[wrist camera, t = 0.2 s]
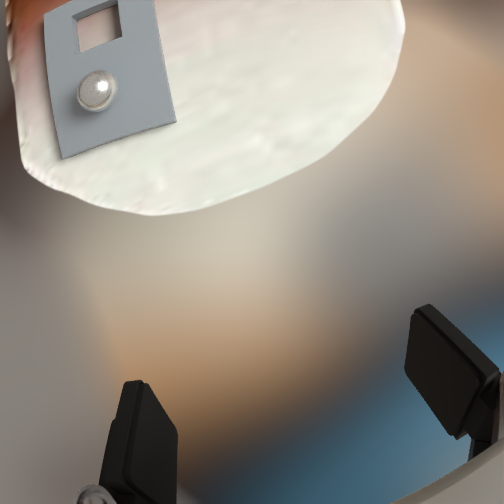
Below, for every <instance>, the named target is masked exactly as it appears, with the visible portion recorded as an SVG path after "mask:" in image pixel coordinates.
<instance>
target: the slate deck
mask: <svg viewBox="0 0 504 504" xmlns="http://www.w3.org/2000/svg"><path fill="white" fill-rule="evenodd" d="M117 4H118V8H119V16H120V24H121V31H122V37H120V38H117V39H114V40H112V41H109V42H106V43H104V44H101V45H99V46H96V47H94V48H91V49H89V50H86V51H84V52H82V53H80V49H79V40H78V29H77V20H79V19H81V18H84V17H86V16H88V15H91V14H93V13H95V12H98V11H100V10H103V9H106V8H108V7H111V6H114V5H117ZM44 36H45V52H46V64H47V73H48V82H49V89H50V96H51V103H52V109H53V115H54V121H55V126H56V131H57V136H58V141H59V145H60V150H61V154H62V159H64V158H69V157H72V156H74V155H77V154H79V153H82V152H84V151H87V150H89V149H92V148H95V147H98V146H100V145H103V144H106V143H109V142H112V141H115V140H118V139H121V138H124V137H127V136H130V135H133V134H136V133H139V132H143V131H146V130H149V129H153V128H156V127H160V126H163V125H167V124H171V123H174V122H177V121H176V116H175V112H174V107H173V102H172V97H171V92H170V88H169V83H168V78H167V72H166V67H165V62H164V57H163V51H162V46H161V41H160V35H159V29H158V23H157V18H156V12H155V5H154V0H72V1H70V2H68V3H66V4H64V5H62V6H60V7H58V8H56V9H54V10H52V11H50V12H48V13H46V14H44ZM98 69H104V70H108V71H110V72H112V73H113V74H114V75H115V76H116V77H117V79H118V81H119V94H118V97H117V99H116V100H115V102H114V103H113V104H112V105H111V106H110V107H109V108H107V109H105V110H103V111H99V112H91V111H88V110H86V109H84V108H83V107H82V106H81V105H80V104H79V102H78V99H77V88H78V85H79V83H80V81H81V80H82V78H83V77H84V76H85V75H86V74H88V73H89V72H91V71H94V70H98Z"/></svg>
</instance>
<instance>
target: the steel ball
mask: <svg viewBox="0 0 504 504" xmlns="http://www.w3.org/2000/svg"><path fill="white" fill-rule="evenodd" d="M118 94H119V81H118V79H117V77H116V76H115V75H114V74H113V73H112V72H110V71H108V70H104V69H98V70H94V71H91V72H89V73H88V74H86V75H85V76H84V77H83V78H82V80H81V81H80V83H79V85H78V88H77V99H78V102H79V104H80V105H81V106H82V107H83V108H84V109H86V110H88V111H91V112H99V111H103V110H105V109H107V108H109V107H110V106H111V105H112V104H113V103H114V102H115V100H116V99H117V97H118Z"/></svg>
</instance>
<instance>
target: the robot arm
mask: <svg viewBox="0 0 504 504" xmlns="http://www.w3.org/2000/svg"><path fill="white" fill-rule="evenodd" d="M404 369H405V373H406V375H407V376H408V378H409V379H410V381H411V382H412V383H413V385H414V386H415V387H416V389H417V390H418V392H419V393H420V394H421V396H422V397H423V398H424V400H425V401H426V403H427V404H428V406H429V407H430V408H431V410H432V411H433V413H434V414H435V415H436V417H437V418H438V420H439V421H440V423H441V424H442V426H443V427H444V429H445V430H446V431H447V433H448V434H449V435H451V436H452V435H453V436H454V437H455V439H456V440H458V439H460V438H461V437H463V436H464V435H466V434H469V436H470V437H471V443H470V449H469V455H468V461H467V463H465V464H463V465H462V466H460V467H459V468H457V469H455V470H454V471H452V472H450V473H449V474H447V475H445V476H444V477H442V478H440V479H439V480H437V481H435V482H433V483H431V484H429V485H427V486H426V487H424V488H422V489H420V490H418V491H416V492H414V493H412V494H410V495H408V496H405V497H403V498H401V499H399V500H397V501H395V502H392V503H390V504H504V371H503V373H501V372H500V371H499V368H498V367H497V366H496V365H495V364H494V363H493V362H492V361H491V360H490V359H489V358H488V357H487V356H486V355H485V354H484V353H483V352H482V351H481V350H480V349H479V348H478V347H477V346H476V345H475V344H473V343H472V342H471V341H470V340H469V339H468V338H467V337H466V336H465V335H464V334H463V333H462V332H461V331H460V330H459V329H458V328H457V327H455V326H454V325H453V324H452V323H451V322H450V321H449V320H448V319H447V318H446V317H444V316H443V315H442V314H441V313H440V312H439V311H438V310H437V309H435V307H433V306H432V305H431V304H427V305H424V306H422V307H419V308H417V309H415V311H414V314H412V316H411V322H410V330H409V338H408V346H407V353H406V359H405V366H404ZM177 444H178V434H177V430H176V427H175V426H174V424H173V423H172V421H171V420H170V418H169V417H168V415H167V414H166V412H165V410H164V409H163V407H162V406H161V404H160V402H159V401H158V399H157V398H156V396H155V394H154V393H153V391H152V389H151V388H150V386H149V384H147V383H143V381H142V380H135V381H127V382H125V383H124V385H123V389H122V393H121V397H120V401H119V405H118V409H117V413H116V417H115V419H114V420H113V421H112V423H111V427H110V431H109V436H108V440H107V445H106V449H105V454H104V459H103V463H102V469H101V474H100V479H99V485H95V484H91V485H87V486H84V487H82V488H81V489H80V490H79V491H78V492H77V493H76V495H75V497H74V501H73V504H176V494H177V492H176V491H177V490H176V489H177Z"/></svg>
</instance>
